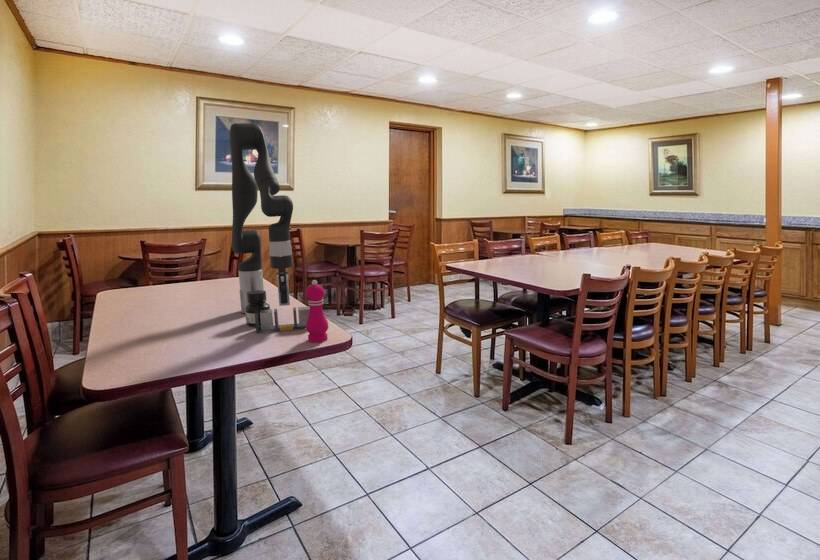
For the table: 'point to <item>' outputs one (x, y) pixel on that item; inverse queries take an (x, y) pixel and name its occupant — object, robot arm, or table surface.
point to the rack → (267, 320)
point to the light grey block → (280, 296)
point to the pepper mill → (316, 314)
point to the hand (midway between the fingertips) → (284, 301)
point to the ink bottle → (255, 305)
